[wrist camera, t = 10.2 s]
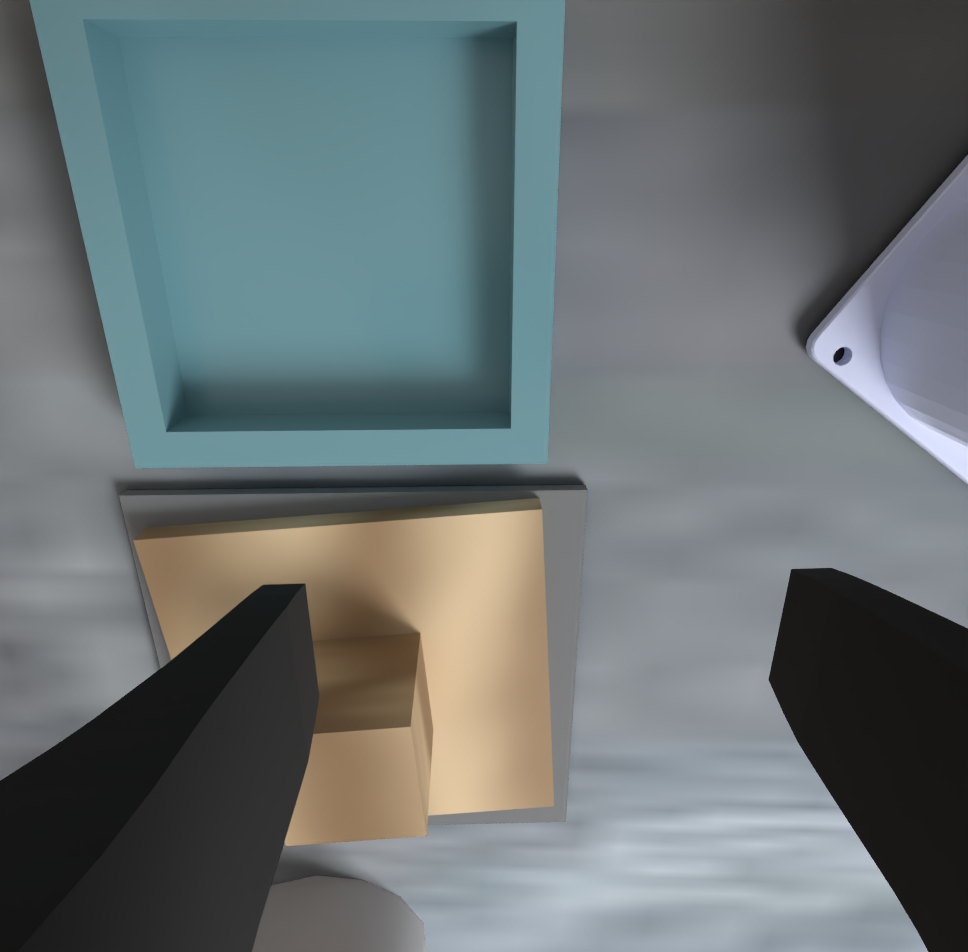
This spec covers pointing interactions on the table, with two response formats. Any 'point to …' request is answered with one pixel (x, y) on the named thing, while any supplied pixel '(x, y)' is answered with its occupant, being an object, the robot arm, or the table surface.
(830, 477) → the table surface
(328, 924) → the cup
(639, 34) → the table surface
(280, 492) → the rubber mat
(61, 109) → the teal dish
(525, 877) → the table surface
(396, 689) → the oak cover
